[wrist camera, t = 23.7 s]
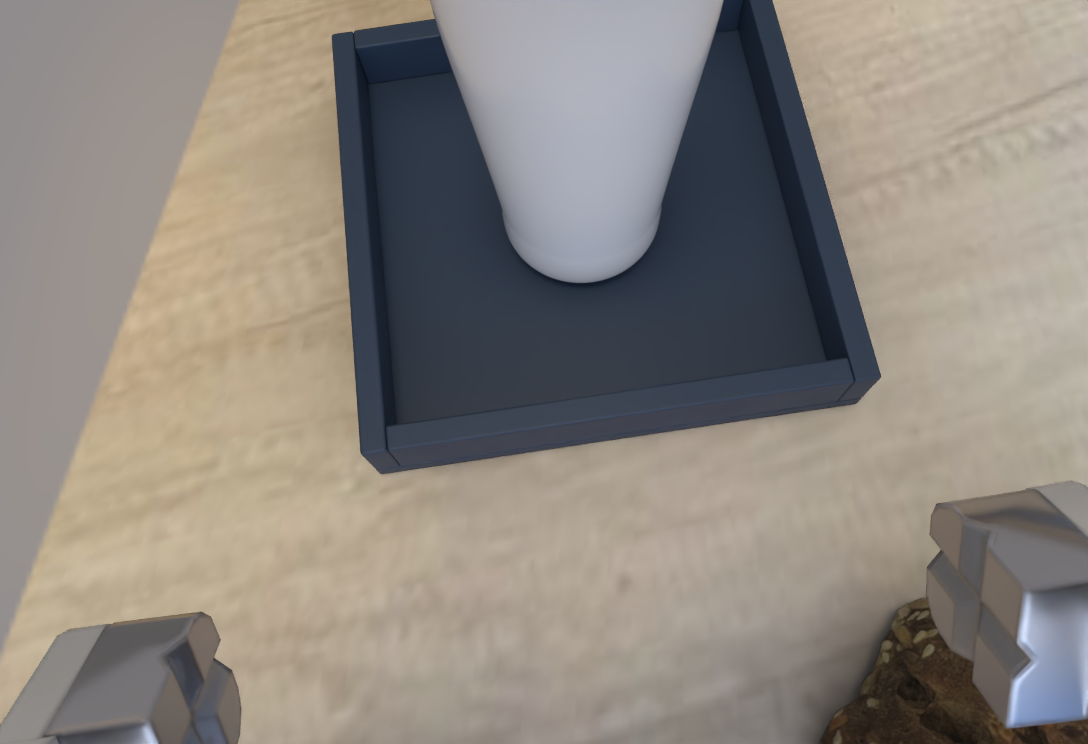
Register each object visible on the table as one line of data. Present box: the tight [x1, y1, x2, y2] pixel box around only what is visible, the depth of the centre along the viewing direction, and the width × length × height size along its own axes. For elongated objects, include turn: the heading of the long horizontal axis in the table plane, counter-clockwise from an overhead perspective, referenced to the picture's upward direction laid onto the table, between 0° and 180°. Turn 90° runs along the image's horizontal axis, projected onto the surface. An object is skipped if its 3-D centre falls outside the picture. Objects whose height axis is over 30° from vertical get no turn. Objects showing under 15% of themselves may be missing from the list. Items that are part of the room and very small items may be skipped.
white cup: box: [430, 0, 724, 283], centre depth 23 cm, size 7×7×15 cm
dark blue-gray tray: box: [332, 0, 881, 474], centre depth 30 cm, size 16×16×3 cm
